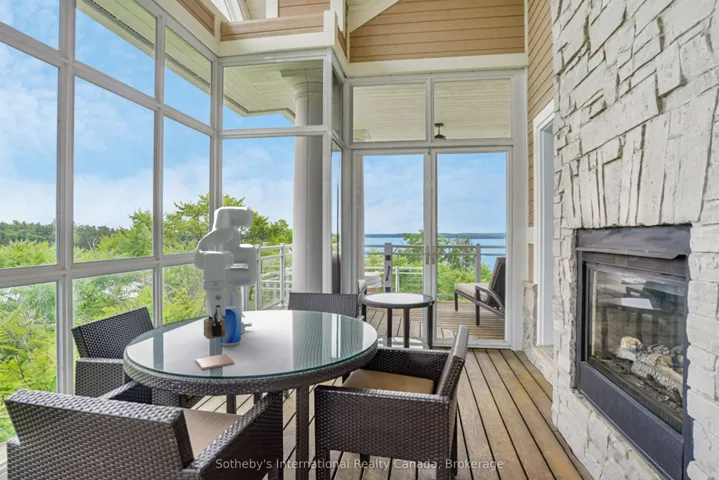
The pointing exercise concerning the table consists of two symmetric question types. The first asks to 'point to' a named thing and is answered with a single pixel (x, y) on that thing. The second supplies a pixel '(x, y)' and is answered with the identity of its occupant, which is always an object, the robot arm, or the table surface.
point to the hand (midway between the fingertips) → (214, 333)
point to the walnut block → (208, 328)
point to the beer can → (232, 326)
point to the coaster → (214, 361)
